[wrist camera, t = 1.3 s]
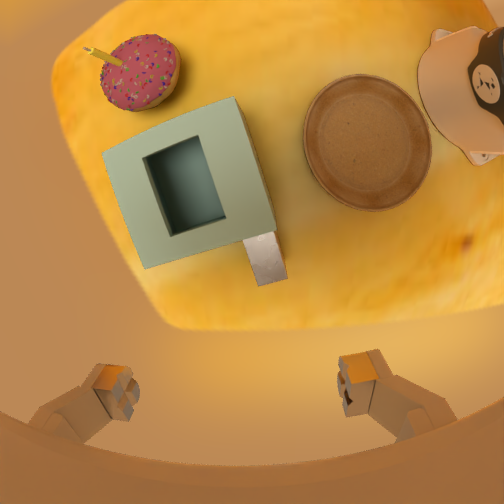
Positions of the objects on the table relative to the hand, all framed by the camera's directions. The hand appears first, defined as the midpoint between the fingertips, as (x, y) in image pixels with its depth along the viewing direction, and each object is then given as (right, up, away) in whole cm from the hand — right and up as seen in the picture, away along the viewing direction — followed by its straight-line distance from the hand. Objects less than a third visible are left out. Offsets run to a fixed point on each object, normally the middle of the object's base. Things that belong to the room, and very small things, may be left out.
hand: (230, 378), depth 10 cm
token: (+2, +6, +22) cm, 23 cm away
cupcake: (-10, +24, +17) cm, 31 cm away
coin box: (-4, +13, +20) cm, 24 cm away
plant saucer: (+13, +17, +18) cm, 28 cm away
